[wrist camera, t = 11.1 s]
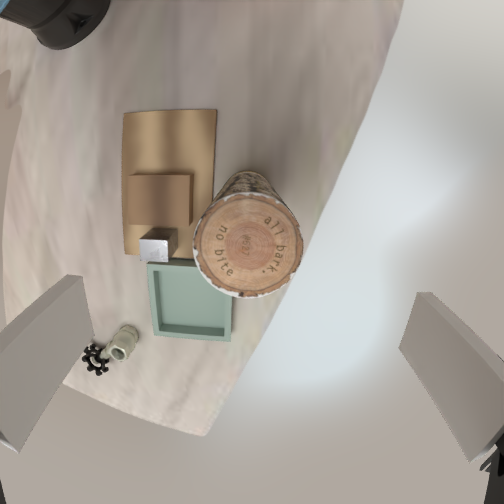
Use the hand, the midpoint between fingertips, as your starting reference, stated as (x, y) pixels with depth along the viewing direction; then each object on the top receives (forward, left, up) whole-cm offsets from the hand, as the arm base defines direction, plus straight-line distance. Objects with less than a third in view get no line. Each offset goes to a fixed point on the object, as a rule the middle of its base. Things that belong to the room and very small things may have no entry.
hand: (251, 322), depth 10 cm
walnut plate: (-12, -1, -32) cm, 34 cm away
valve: (-24, -28, -33) cm, 50 cm away
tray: (-8, -17, -33) cm, 38 cm away
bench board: (-12, +1, -33) cm, 35 cm away
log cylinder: (0, 0, -33) cm, 33 cm away
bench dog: (-12, -7, -32) cm, 35 cm away
